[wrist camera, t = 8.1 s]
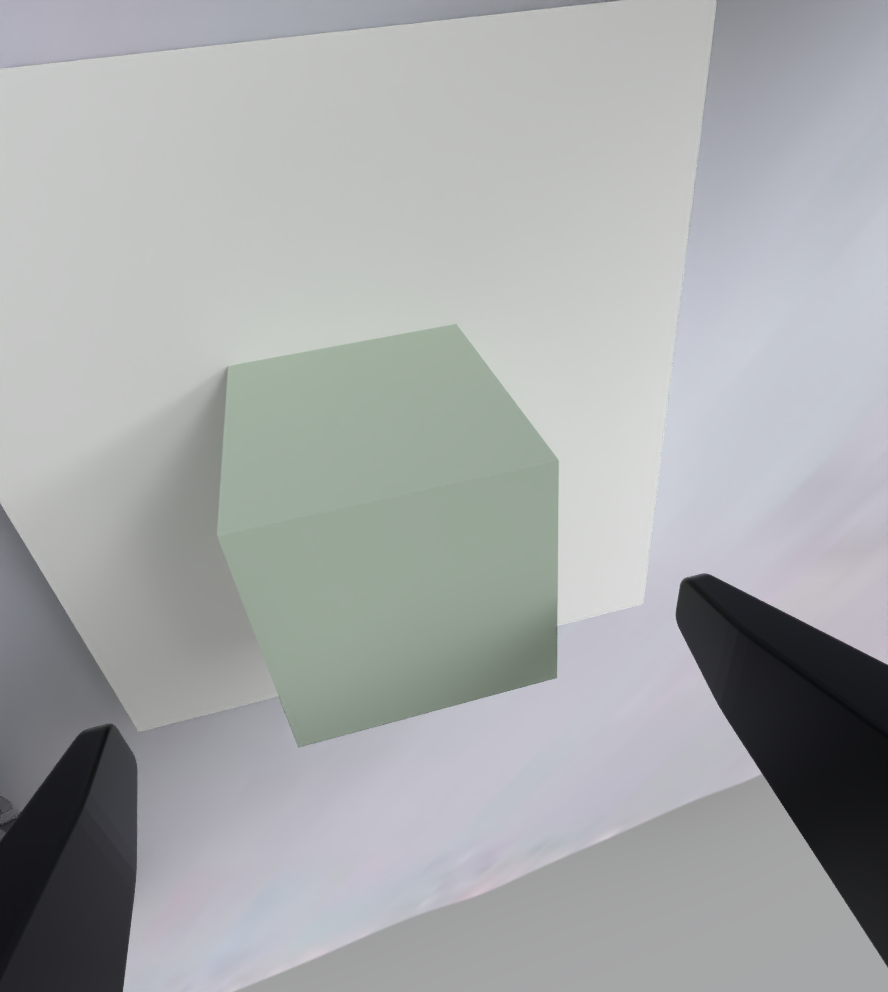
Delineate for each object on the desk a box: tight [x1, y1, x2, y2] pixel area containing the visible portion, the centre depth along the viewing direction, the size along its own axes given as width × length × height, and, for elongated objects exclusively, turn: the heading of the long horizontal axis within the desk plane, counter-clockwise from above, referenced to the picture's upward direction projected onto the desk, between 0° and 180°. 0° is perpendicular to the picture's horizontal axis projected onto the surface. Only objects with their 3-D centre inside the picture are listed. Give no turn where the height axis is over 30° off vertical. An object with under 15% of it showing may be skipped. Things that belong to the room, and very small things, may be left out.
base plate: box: [0, 0, 717, 732], centre depth 16 cm, size 16×16×2 cm
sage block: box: [217, 324, 559, 747], centre depth 13 cm, size 5×5×6 cm
